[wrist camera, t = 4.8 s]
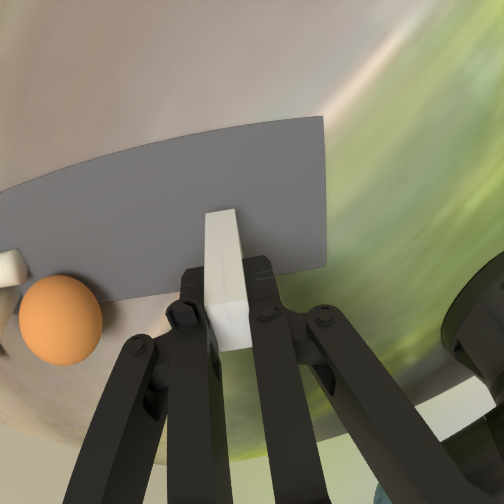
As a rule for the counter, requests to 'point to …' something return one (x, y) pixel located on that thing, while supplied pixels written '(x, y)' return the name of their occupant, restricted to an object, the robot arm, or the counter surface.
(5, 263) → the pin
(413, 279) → the counter surface
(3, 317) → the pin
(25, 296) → the ball
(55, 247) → the grey flat board
